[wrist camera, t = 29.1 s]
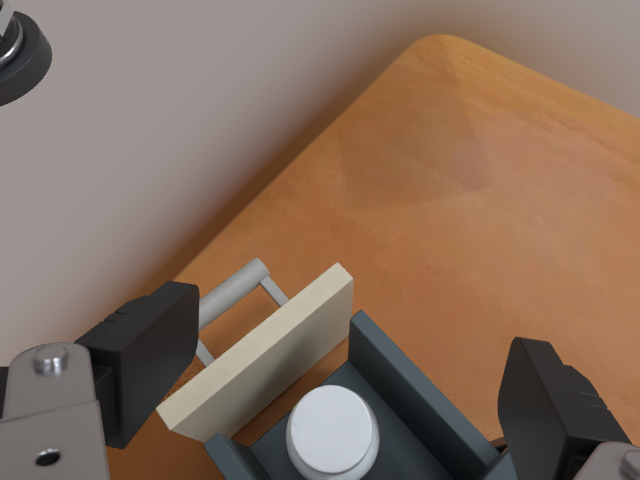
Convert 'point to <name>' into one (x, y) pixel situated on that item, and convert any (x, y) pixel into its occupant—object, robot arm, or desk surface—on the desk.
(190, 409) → the drawer
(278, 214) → the desk surface
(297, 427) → the pill bottle
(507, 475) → the cabinet
